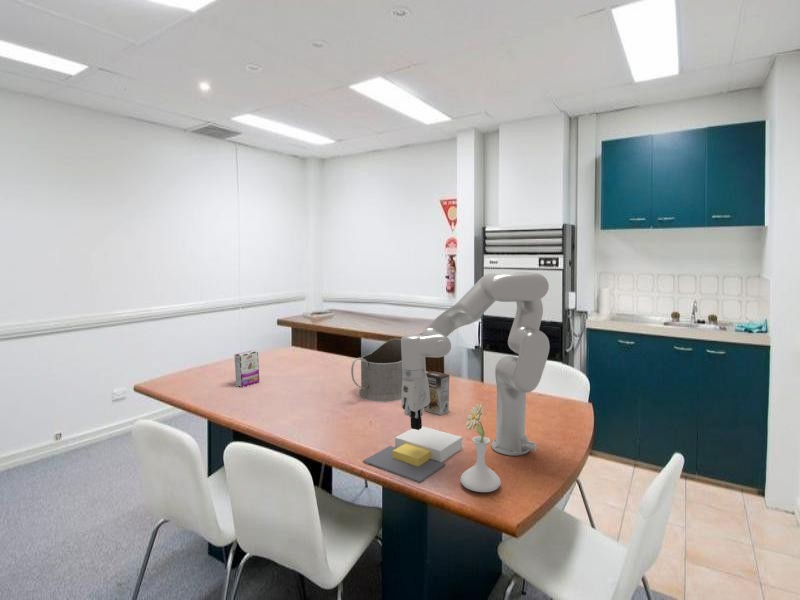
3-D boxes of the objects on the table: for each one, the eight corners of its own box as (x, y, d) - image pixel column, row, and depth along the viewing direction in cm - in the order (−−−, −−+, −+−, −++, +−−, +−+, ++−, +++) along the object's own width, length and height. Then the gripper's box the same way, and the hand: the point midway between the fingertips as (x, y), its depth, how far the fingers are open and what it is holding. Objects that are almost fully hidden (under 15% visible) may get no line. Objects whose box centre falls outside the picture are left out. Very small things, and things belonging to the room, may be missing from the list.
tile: (430, 458, 147) (430, 451, 146) (418, 466, 141) (418, 458, 141) (405, 450, 153) (405, 443, 152) (392, 457, 147) (392, 450, 147)
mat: (445, 465, 143) (445, 463, 143) (419, 483, 132) (419, 481, 132) (390, 447, 157) (390, 445, 156) (362, 462, 145) (362, 460, 145)
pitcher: (418, 393, 217) (418, 341, 215) (370, 410, 194) (370, 352, 191) (383, 384, 233) (382, 335, 230) (335, 398, 209) (334, 345, 207)
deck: (462, 448, 156) (462, 437, 155) (440, 463, 145) (440, 451, 144) (418, 435, 167) (418, 425, 166) (395, 448, 155) (395, 437, 155)
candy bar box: (253, 381, 238) (252, 350, 237) (259, 382, 236) (258, 351, 234) (235, 386, 229) (233, 354, 227) (241, 387, 226) (240, 355, 225)
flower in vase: (463, 474, 138) (464, 393, 135) (502, 479, 134) (504, 396, 132) (456, 496, 125) (457, 407, 123) (498, 502, 122) (500, 411, 119)
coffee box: (423, 410, 193) (423, 373, 192) (432, 406, 198) (432, 370, 196) (440, 415, 187) (440, 377, 186) (449, 411, 192) (450, 374, 190)
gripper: (410, 380, 137) (412, 439, 139) (436, 369, 149) (438, 423, 151) (390, 377, 142) (393, 434, 144) (417, 366, 154) (419, 418, 156)
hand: (416, 428), depth 148 cm, fingers closed
